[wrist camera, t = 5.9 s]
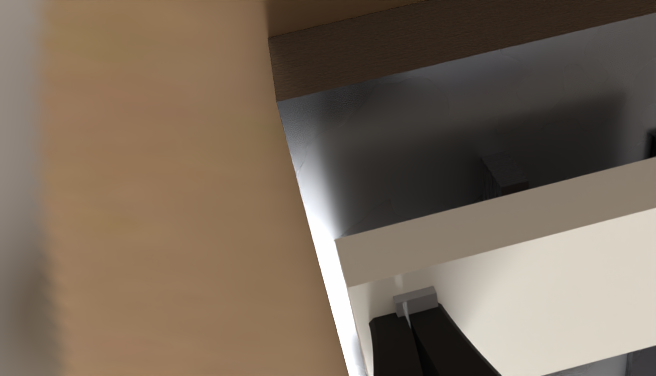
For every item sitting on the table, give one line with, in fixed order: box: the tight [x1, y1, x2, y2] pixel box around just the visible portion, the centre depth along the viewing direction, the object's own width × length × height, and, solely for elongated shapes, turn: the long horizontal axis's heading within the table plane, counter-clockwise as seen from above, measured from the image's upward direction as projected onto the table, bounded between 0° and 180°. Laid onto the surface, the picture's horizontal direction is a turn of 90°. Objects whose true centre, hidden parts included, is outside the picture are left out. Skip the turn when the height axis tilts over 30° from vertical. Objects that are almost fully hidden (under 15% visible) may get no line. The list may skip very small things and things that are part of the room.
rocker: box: [334, 157, 656, 376], centre depth 13 cm, size 8×4×2 cm, turn 101°
